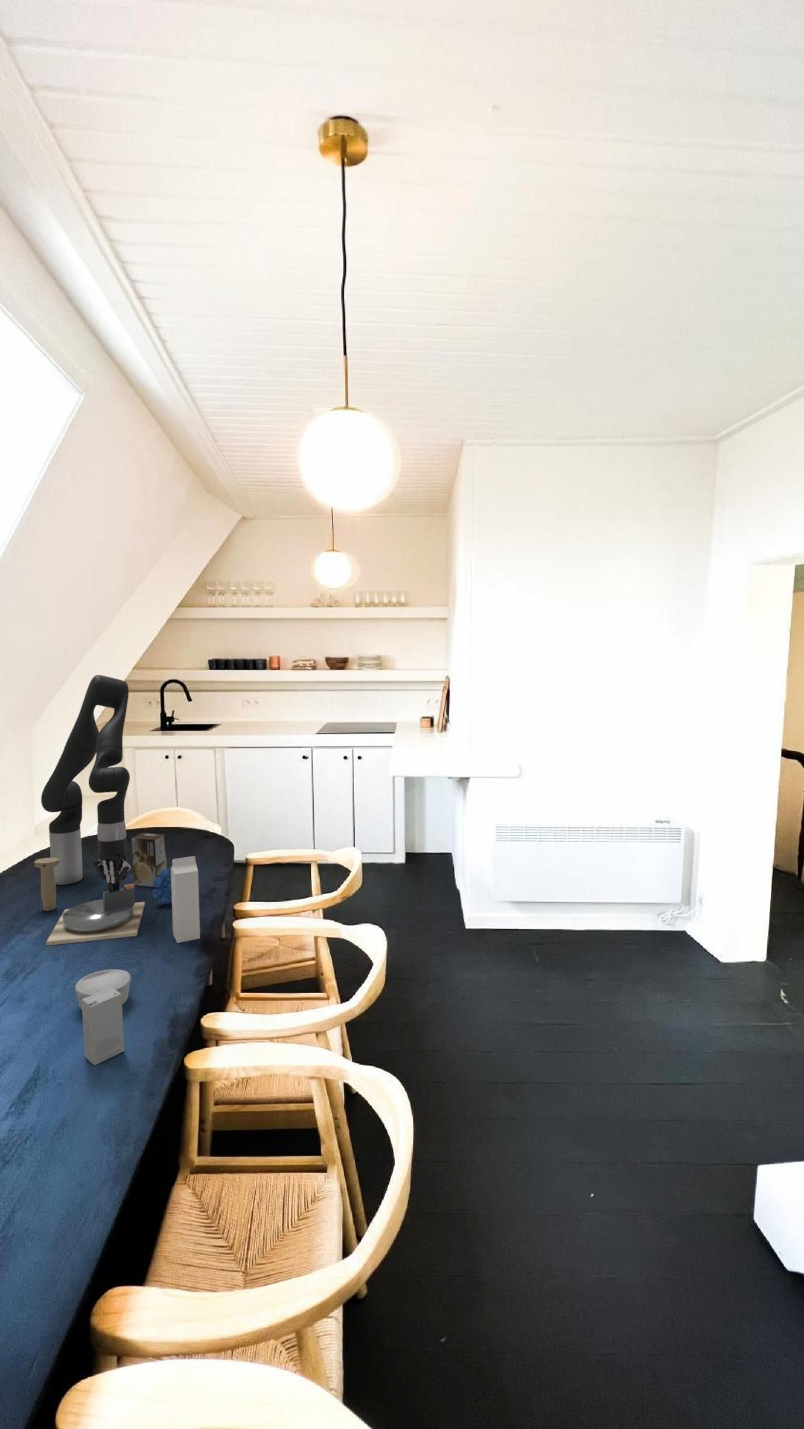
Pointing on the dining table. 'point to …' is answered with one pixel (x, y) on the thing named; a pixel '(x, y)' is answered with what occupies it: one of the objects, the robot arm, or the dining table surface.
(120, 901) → the dial
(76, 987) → the ramekin
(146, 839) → the coffee box
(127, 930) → the base plate
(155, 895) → the grapes
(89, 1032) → the skincare box
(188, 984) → the dining table surface
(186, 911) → the milk
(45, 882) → the handle
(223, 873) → the dining table surface
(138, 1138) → the dining table surface
